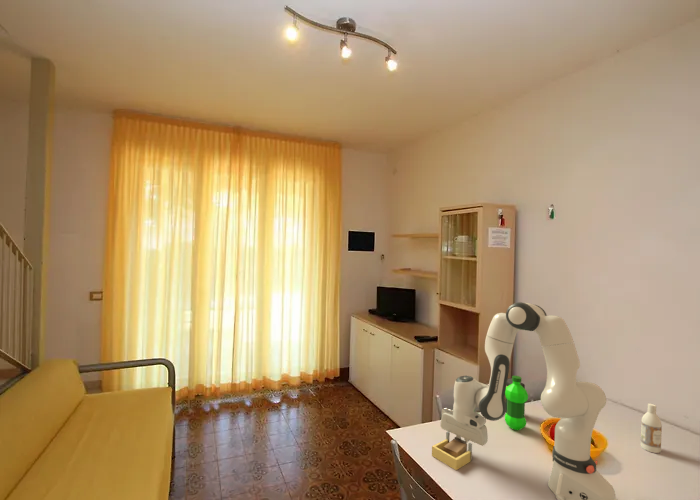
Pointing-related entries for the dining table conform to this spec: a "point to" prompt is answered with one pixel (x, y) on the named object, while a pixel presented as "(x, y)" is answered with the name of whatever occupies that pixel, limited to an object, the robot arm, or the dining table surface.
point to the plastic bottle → (516, 404)
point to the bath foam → (651, 430)
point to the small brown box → (456, 447)
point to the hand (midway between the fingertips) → (462, 446)
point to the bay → (447, 458)
